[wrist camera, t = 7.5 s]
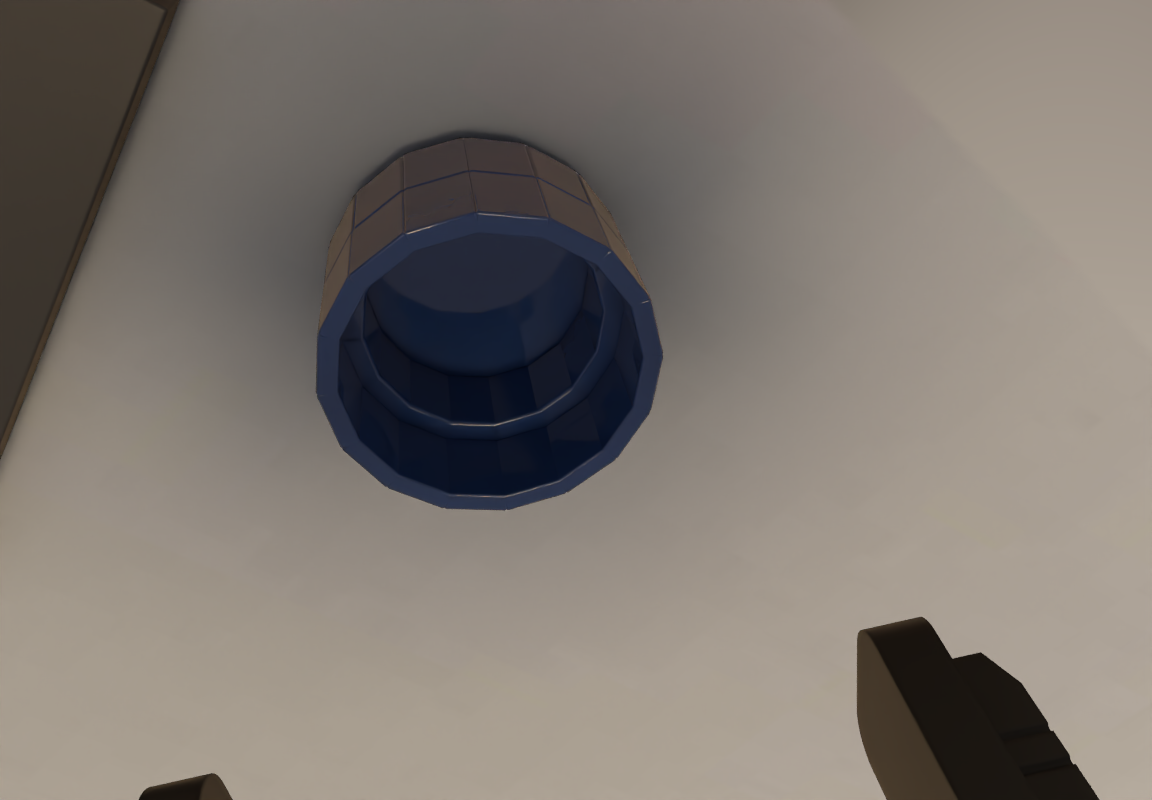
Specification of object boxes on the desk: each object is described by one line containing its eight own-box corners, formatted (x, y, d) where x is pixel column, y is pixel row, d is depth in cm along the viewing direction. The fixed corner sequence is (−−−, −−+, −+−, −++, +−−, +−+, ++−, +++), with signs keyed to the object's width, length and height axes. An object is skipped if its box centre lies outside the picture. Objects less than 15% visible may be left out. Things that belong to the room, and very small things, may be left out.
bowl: (410, 73, 20) (414, 148, 16) (671, 215, 23) (726, 307, 19) (282, 328, 23) (260, 442, 19) (529, 430, 25) (553, 549, 22)
